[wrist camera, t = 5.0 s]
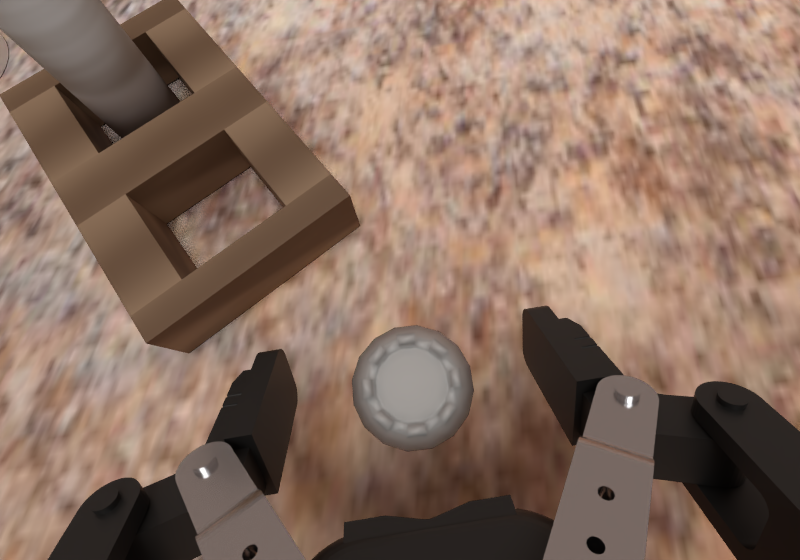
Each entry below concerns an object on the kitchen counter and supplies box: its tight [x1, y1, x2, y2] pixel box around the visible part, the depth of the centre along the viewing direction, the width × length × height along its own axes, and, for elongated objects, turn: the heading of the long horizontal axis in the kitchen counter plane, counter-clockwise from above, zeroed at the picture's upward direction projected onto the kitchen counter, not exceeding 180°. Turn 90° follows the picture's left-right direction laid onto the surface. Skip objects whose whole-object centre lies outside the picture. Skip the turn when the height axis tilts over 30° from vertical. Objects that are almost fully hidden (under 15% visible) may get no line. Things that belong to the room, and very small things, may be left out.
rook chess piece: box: [352, 325, 474, 451], centre depth 14 cm, size 4×4×8 cm
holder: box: [0, 0, 360, 353], centre depth 16 cm, size 16×10×11 cm, turn 39°
